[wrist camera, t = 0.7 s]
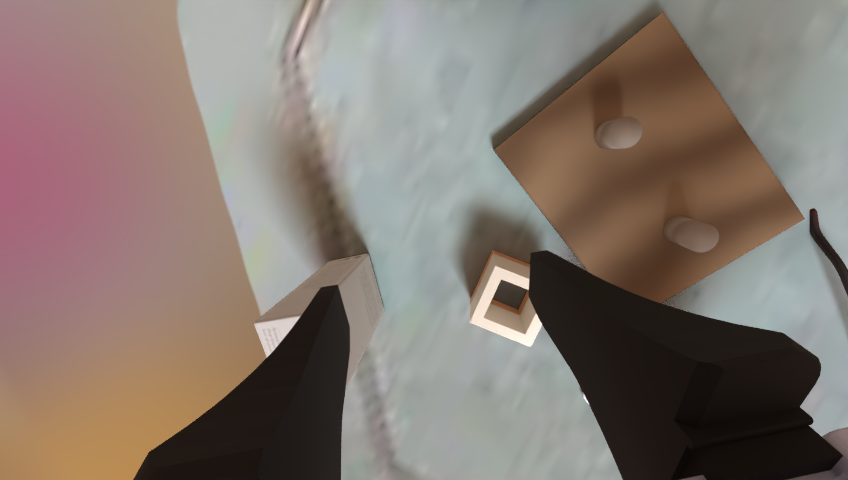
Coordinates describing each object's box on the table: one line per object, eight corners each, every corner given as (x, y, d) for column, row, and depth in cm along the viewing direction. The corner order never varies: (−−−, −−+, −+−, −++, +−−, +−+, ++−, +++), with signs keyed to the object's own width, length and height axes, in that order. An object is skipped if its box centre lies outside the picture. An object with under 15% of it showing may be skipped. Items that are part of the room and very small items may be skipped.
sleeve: (547, 271, 30) (559, 291, 25) (522, 320, 31) (530, 347, 27) (492, 249, 30) (495, 265, 26) (470, 299, 31) (469, 322, 27)
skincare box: (327, 260, 32) (244, 319, 21) (372, 251, 31) (311, 307, 20) (346, 320, 34) (277, 408, 22) (389, 313, 33) (342, 400, 21)
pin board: (792, 216, 26) (847, 227, 22) (623, 316, 30) (645, 341, 26) (655, 17, 24) (689, -9, 20) (493, 149, 28) (496, 149, 24)
